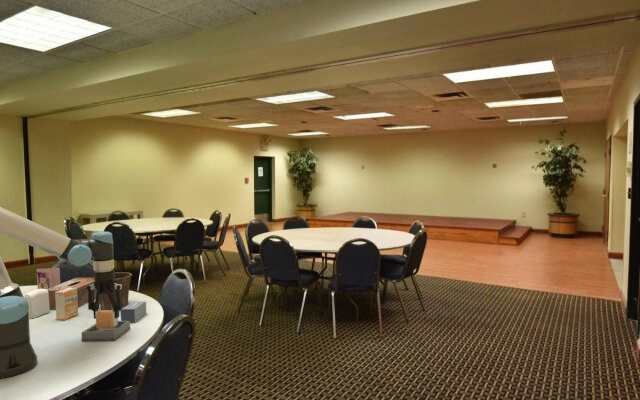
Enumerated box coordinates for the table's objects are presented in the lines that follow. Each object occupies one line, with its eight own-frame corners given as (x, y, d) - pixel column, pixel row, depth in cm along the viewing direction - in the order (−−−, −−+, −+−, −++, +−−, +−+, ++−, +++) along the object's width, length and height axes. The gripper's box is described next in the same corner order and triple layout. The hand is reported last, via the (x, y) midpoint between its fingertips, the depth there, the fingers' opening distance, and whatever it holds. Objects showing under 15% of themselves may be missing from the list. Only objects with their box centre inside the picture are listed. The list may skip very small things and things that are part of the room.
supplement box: (65, 320, 189) (63, 292, 188) (55, 320, 190) (54, 291, 189) (78, 314, 197) (77, 287, 197) (70, 314, 198) (68, 287, 197)
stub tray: (114, 340, 165) (114, 332, 164) (81, 341, 165) (81, 332, 165) (130, 328, 178) (129, 320, 177) (99, 329, 178) (99, 321, 178)
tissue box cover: (76, 295, 231) (76, 277, 230) (102, 295, 230) (101, 277, 230) (44, 310, 205) (43, 290, 205) (73, 310, 205) (72, 290, 204)
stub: (111, 328, 169) (110, 313, 169) (96, 328, 169) (96, 314, 169) (117, 324, 174) (117, 309, 174) (103, 324, 174) (102, 310, 174)
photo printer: (30, 319, 191) (29, 292, 191) (23, 318, 193) (22, 292, 192) (51, 312, 201) (50, 287, 201) (44, 311, 203) (43, 286, 202)
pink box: (36, 296, 230) (34, 269, 229) (49, 292, 237) (48, 266, 236) (50, 298, 226) (48, 270, 225) (63, 294, 232) (62, 267, 232)
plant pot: (130, 300, 219) (129, 270, 218) (135, 309, 205) (134, 276, 204) (95, 306, 210) (93, 274, 209) (97, 315, 196) (96, 281, 195)
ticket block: (134, 322, 185) (134, 309, 185) (121, 322, 185) (120, 309, 185) (146, 313, 197) (146, 301, 197) (133, 314, 197) (133, 301, 197)
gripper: (131, 267, 173) (134, 322, 175) (86, 268, 174) (89, 323, 175) (122, 271, 166) (125, 329, 167) (75, 272, 166) (78, 329, 168)
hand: (107, 325), depth 171 cm, fingers closed on stub, 6 cm apart
